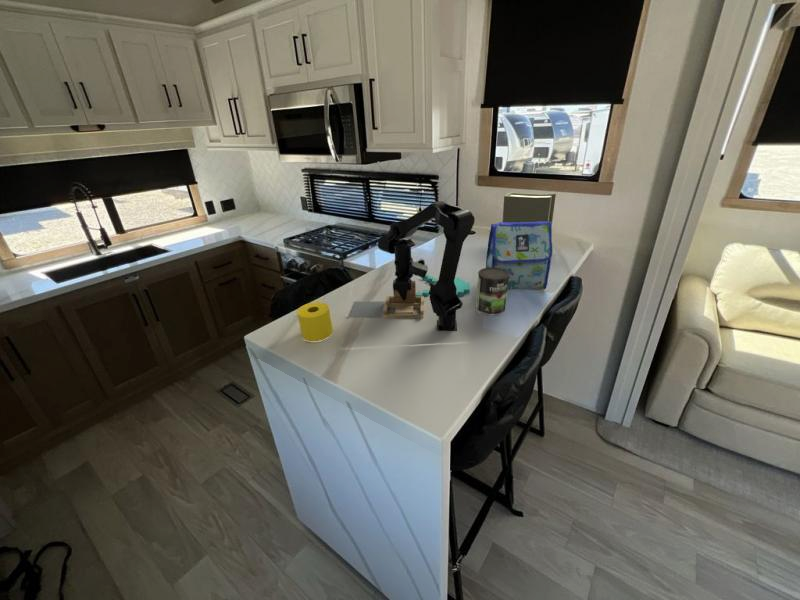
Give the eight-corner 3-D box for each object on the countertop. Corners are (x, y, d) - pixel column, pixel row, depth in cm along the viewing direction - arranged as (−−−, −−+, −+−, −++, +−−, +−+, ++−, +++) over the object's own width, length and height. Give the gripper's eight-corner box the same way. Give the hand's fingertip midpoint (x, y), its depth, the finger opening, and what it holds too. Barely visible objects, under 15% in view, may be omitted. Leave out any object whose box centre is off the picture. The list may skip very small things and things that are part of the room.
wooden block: (415, 307, 131) (415, 282, 126) (394, 307, 131) (392, 283, 127) (416, 305, 132) (415, 281, 127) (394, 305, 133) (393, 281, 128)
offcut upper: (413, 314, 125) (413, 311, 125) (395, 315, 125) (395, 312, 125) (413, 308, 129) (413, 305, 128) (395, 309, 129) (395, 306, 128)
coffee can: (511, 313, 124) (515, 276, 117) (484, 318, 121) (487, 281, 115) (496, 300, 132) (499, 265, 126) (471, 304, 130) (473, 269, 124)
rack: (423, 318, 123) (423, 311, 122) (383, 318, 125) (383, 311, 123) (424, 303, 133) (424, 296, 131) (387, 303, 134) (386, 296, 133)
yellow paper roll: (326, 343, 112) (322, 318, 108) (297, 341, 114) (291, 316, 110) (336, 326, 121) (333, 302, 117) (309, 325, 123) (304, 301, 118)
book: (499, 251, 179) (502, 194, 166) (505, 245, 185) (509, 191, 173) (542, 257, 167) (550, 197, 154) (548, 251, 174) (555, 193, 161)
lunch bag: (490, 296, 136) (496, 229, 123) (482, 278, 150) (487, 217, 138) (549, 294, 135) (560, 227, 122) (535, 276, 149) (544, 215, 137)
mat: (380, 318, 125) (380, 317, 124) (347, 318, 126) (347, 317, 125) (385, 302, 135) (384, 301, 135) (354, 302, 136) (354, 301, 136)
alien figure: (416, 300, 137) (468, 302, 133) (416, 295, 135) (469, 297, 132) (423, 278, 154) (470, 280, 150) (423, 273, 153) (470, 275, 149)
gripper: (425, 267, 113) (426, 309, 121) (426, 247, 130) (427, 285, 137) (391, 267, 115) (394, 309, 122) (396, 247, 131) (398, 285, 138)
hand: (404, 296), depth 130 cm, fingers open, 5 cm apart
